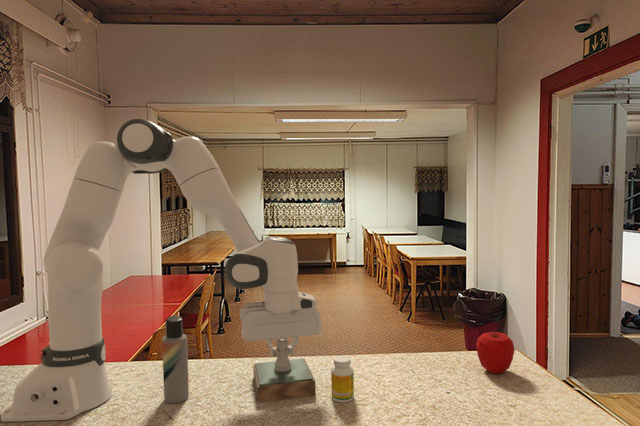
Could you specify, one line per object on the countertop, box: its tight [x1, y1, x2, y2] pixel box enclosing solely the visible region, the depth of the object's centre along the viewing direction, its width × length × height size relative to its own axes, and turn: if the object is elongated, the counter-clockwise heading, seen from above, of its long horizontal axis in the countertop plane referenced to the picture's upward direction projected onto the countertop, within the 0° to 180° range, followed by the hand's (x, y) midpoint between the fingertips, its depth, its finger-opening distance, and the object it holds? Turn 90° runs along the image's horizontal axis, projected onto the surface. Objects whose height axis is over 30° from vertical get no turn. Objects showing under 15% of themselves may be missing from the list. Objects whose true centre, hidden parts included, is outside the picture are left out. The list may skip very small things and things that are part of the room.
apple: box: [475, 331, 515, 375], centre depth 117 cm, size 10×10×11 cm
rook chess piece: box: [274, 338, 291, 372], centre depth 111 cm, size 4×4×8 cm
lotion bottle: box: [161, 315, 190, 405], centre depth 104 cm, size 6×6×20 cm
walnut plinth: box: [252, 358, 317, 403], centre depth 110 cm, size 14×14×4 cm
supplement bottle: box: [330, 355, 355, 404], centre depth 103 cm, size 5×5×10 cm
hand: (282, 354), depth 110 cm, fingers open, 3 cm apart
